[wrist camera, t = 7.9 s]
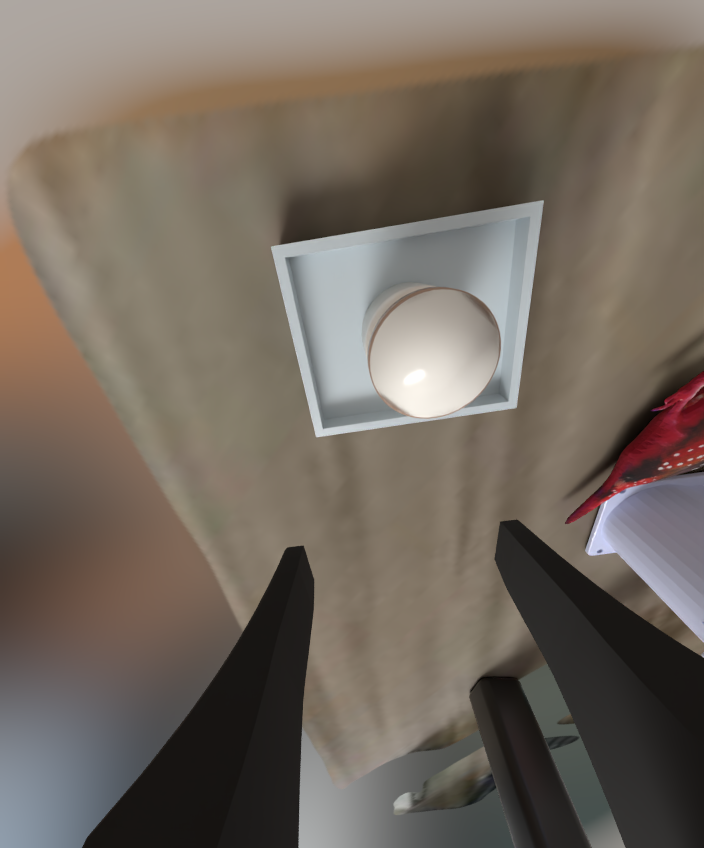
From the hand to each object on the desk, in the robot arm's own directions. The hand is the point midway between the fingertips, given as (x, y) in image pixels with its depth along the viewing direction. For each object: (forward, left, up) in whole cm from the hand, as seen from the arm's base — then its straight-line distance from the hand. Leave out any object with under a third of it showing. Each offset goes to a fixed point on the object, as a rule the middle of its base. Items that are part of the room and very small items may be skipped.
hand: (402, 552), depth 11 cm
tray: (-2, -6, -10) cm, 12 cm away
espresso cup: (-2, -6, -9) cm, 11 cm away
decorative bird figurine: (-17, 0, -8) cm, 19 cm away
